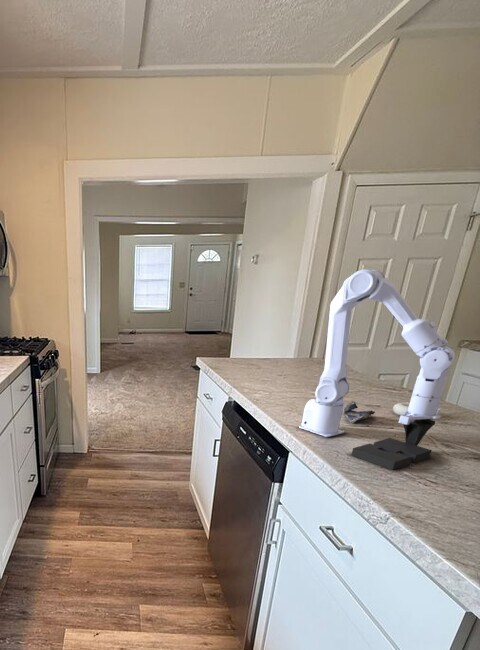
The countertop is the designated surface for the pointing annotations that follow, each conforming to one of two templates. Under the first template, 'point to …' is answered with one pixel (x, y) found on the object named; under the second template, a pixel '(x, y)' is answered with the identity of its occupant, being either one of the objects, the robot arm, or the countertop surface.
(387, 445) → the tab pad
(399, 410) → the donut
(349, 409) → the snack package
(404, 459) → the base pad
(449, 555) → the countertop surface
